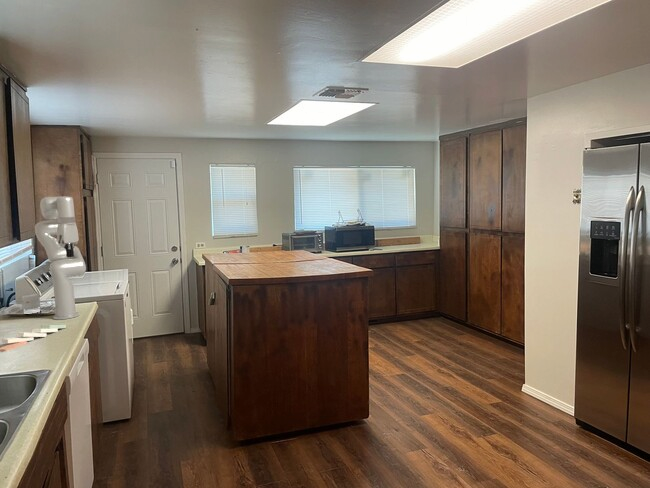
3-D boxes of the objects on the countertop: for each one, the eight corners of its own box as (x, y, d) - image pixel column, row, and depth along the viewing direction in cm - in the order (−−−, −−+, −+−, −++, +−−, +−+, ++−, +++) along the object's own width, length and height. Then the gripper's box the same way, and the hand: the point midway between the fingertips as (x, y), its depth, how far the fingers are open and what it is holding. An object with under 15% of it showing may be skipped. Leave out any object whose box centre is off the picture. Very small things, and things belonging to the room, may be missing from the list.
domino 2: (18, 341, 221) (-4, 348, 211) (27, 341, 220) (5, 349, 209) (18, 344, 221) (-4, 352, 211) (27, 345, 220) (6, 353, 209)
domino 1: (27, 335, 227) (2, 338, 217) (33, 336, 224) (8, 339, 215) (27, 339, 227) (2, 342, 217) (33, 340, 224) (7, 343, 215)
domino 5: (57, 324, 245) (40, 325, 234) (66, 324, 244) (49, 325, 233) (57, 327, 245) (40, 328, 234) (65, 328, 244) (49, 328, 233)
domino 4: (48, 328, 239) (31, 329, 228) (57, 328, 238) (41, 329, 227) (48, 331, 239) (31, 332, 228) (57, 331, 238) (40, 332, 227)
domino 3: (40, 332, 232) (17, 332, 222) (46, 333, 229) (23, 333, 220) (39, 335, 231) (16, 335, 222) (46, 336, 229) (23, 336, 219)
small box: (38, 311, 283) (36, 293, 282) (41, 312, 279) (39, 294, 278) (22, 314, 277) (20, 296, 276) (25, 315, 273) (23, 297, 272)
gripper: (71, 220, 254) (75, 254, 256) (49, 222, 239) (52, 259, 241) (83, 219, 252) (87, 254, 254) (61, 222, 237) (65, 259, 240)
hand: (70, 256), depth 248 cm, fingers closed
